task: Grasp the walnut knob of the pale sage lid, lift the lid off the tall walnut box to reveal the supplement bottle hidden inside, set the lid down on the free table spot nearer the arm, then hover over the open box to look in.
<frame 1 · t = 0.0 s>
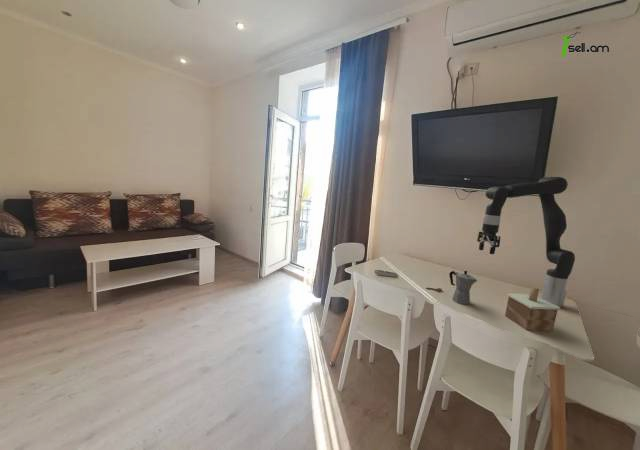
hand: (486, 252, 142), 29 cm above the table, fingers open, 8 cm apart
box: (527, 323, 125), on the table
lid: (532, 302, 123), point 11 cm above the table, touching box
supplement bottle: (527, 323, 125), resting in box
coffeepot: (458, 300, 147), on the table
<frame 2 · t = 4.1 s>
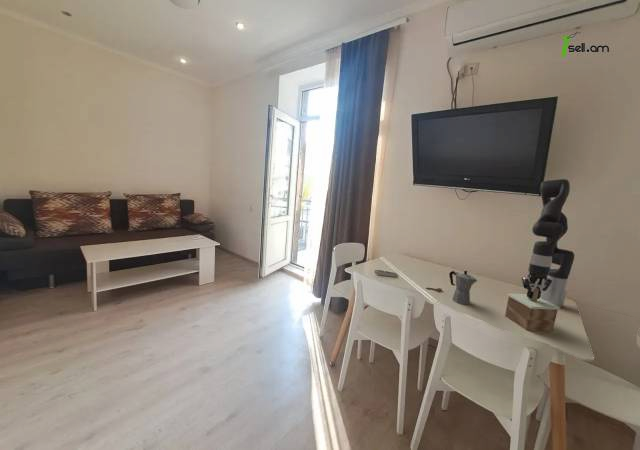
hand: (533, 298, 123), 13 cm above the table, fingers closed on lid, 3 cm apart
lid: (532, 302, 123), point 11 cm above the table, touching box, gripper
everything else where it was.
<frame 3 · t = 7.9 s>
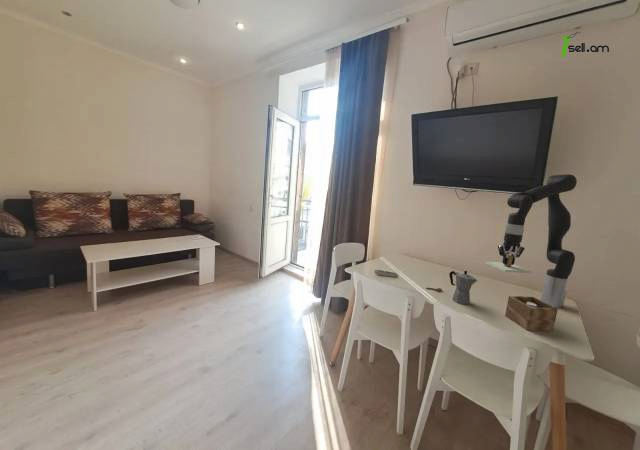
hand: (507, 264, 137), 25 cm above the table, fingers closed on lid, 3 cm apart
lid: (507, 268, 137), point 23 cm above the table, touching gripper
everything else where it was.
when the fingers open (4 cm above the table, at t = 11.6 s): lid drops 2 cm, on the table.
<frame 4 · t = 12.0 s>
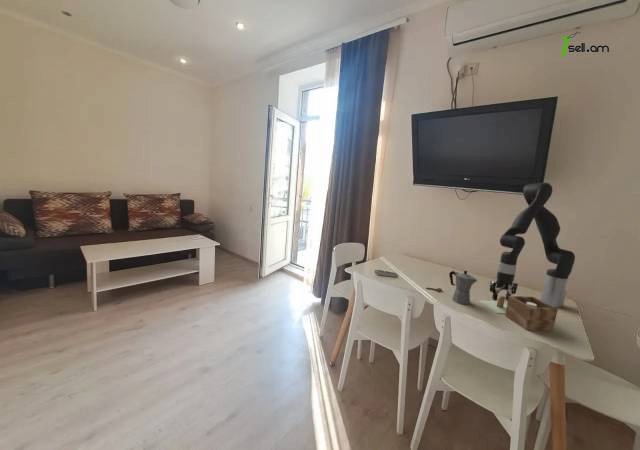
hand: (500, 300, 140), 4 cm above the table, fingers open, 6 cm apart
lid: (499, 308, 141), on the table
everything else where it was.
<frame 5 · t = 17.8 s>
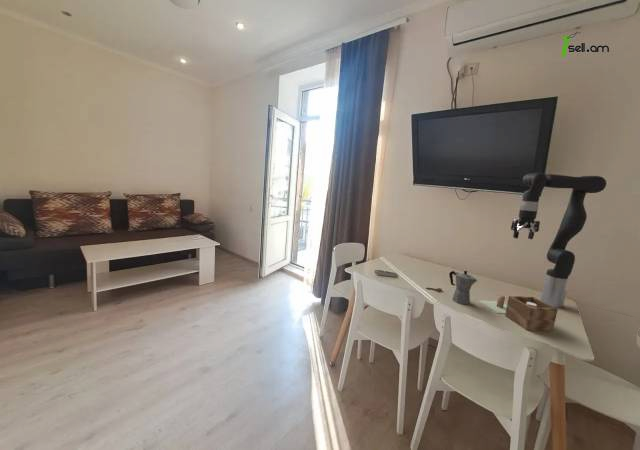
hand: (522, 238, 142), 38 cm above the table, fingers open, 8 cm apart
nothing on the table moved.
at the end: lid inside the target area (0.1 cm from its centre), on the table; lid touching table; lid tilted 0° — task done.
